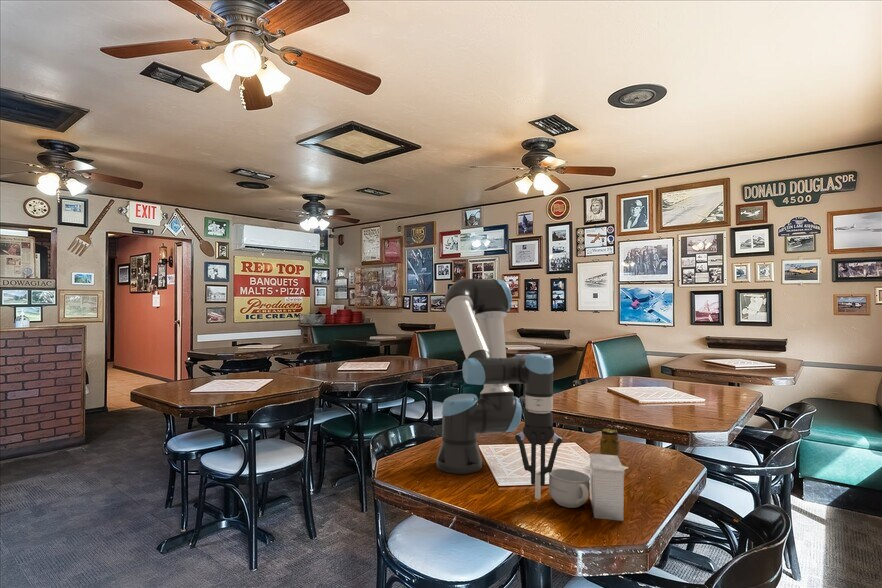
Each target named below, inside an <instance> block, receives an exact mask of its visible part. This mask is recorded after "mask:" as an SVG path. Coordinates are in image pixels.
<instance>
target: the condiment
mask: <svg viewBox="0 0 882 588" xmlns="http://www.w3.org/2000/svg"><path fill="white" fill-rule="evenodd" d="M599 442H600V444H599V446H600V447H599V449H600V451H599V454H603V455H615V456H618V458H619V459H620V439H619V432H618V430H616V429H612V428H611V429H610V428H603V429H602V430H601V437H600V439H599ZM622 467H623V469H624V471H625V470H627V469H629V468H630V467H629V466H625V465H622Z"/></svg>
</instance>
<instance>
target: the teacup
mask: <svg viewBox="0 0 882 588" xmlns="http://www.w3.org/2000/svg"><path fill="white" fill-rule="evenodd" d="M548 475H549V477H548V492H549V496H550V497H551V498H552V499H553V500H554V502H555V503H556V504H558V505H559V506H561V507H564V508H575V509H576V508H579V507H581V506H582V505H584V504H585V503H586V502H587V500H588V498H589V497H590V475H588V474H587V473H584V472H583V471H579V470H577V469H570V468H552V472H551V473H548Z"/></svg>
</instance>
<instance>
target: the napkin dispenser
mask: <svg viewBox="0 0 882 588" xmlns="http://www.w3.org/2000/svg"><path fill="white" fill-rule="evenodd" d="M589 459H590V461H589V462H590V463H589V477H590V480H589V499H590V500H589V501H590V505H591V509H592V513H593V517H594V519H599V520H600V519H601V520H609V521H610V520H611V521H619V522H624V507H625V505H624V503H625V502H624V499H625V498H624V495H625V494H624V492H625V491H624V489H625V486H624V485H625V484H624V482H625V479H624V477H625V473H626V472H625V470H624V469H623V467H622V466H623V464H622V462H621V460H620V457H619V458H618V456H615V455H603V454H600V453H590V452H589Z"/></svg>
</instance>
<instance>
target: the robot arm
mask: <svg viewBox="0 0 882 588" xmlns="http://www.w3.org/2000/svg"><path fill="white" fill-rule="evenodd" d="M512 302H513V295H512V291H511V288H510V286H509V284H508V283H507V282H506V281H505V280H503V279H495V278H490V279H488V278H461V279H459V280H457V281H455V282H454V283H453V284H452V285H451V286H450V287H449V288H448V289H447V291H446V294H445V297H444V308H445V311H446V313H447V315H448V316H449V317H450V318H452V321H453V324H454V328H455V331H456V333H457V337H458V339H459V342H460V346H461V348H462V351H463V354H464V357H465V359H464V361H463V362H462V367H461V368H462V378H463V380H464V382H465V384H468V385H478V386H482V385H483V388H482V390H481V391H480V393H479V398H478V396H477V394H474V393H457V394H453V395H451V396H447V398H445V399H444V400H443V403H442V410H441V415H442V416H441V417H442V421H441V423H442V425H441V427H442V428H441V429H442V431H441V438H442V439H441V440H442V441H441V446H440V448H439V451H438V453H437V454H438V455H437V457H436V468H437V469H439V470H440V471H442V472H444V473H448V474H449V473H450V474H455V475H467V474H472V473H476V472H478V471H480V470H481V469H482V468H483V466H482V465H483V460H482V456H481V453H480V449H479V446H478V442H477V441H478V440H477V439H478V435H481V434H497V433H498V434H505V433H510V432H512V433H513V432H514V431H516V430H517V429H518V428H519V426H520V424H521V420H522V412H523V411H522V410H523V409H522V403H521V401H520V399H519V397H517V396H514V394H515V393H514V391H513V389H512V388H511V387H509V386H510V384H523V385H524V387H525V388H524V389H525V391H524V408H525V410H524V426H523V428H522V431H520V432H517V433H515V436H514V438H515V440H516V442H517V443H518V446H519V452H520V455H521V459H522V465H523V468H524V471H528V472H529V473H530V484H531V485H532V486H534V499H537V500H541V488H542V487H544V486H545V485H546V475H547V474H549V473H551V472H552V470H553V469H554V468H553V467H554V464H555V459H556V457H557V456H556V455H557V452H558V448H559V446H560V445H561V444H562V442H563V438H562V436H559V435H557V434H556V433H555V430H554V428H553V422H554V418H553V415H554V414H553V412H552V411H553V408H554V395H553V394H554V393H553V391H554V372H555V371H554V369H555V368H554V360H553V359H554V358H553V357H552V355H550V354H547V353H546V354H545V353H528V354H527V355H526V356H523V355H521V356H518V355H516V356H513V357H507V352H506V350H507V349H506V348H507V347H506V338H505V337H506V336H505V326H504V323H505V322H504V319H505V318H506V317H507V316H508V312H509V311H510V310H511V309H512V305H513V303H512ZM478 321H479V323H478ZM525 438H526V439H527V441H528V442H529V443H530V449H531V450H530V463H529V459H528V458H529V457H528V455H527V451H526V446H525V442H524V440H525ZM551 439H552V442H553V445H552V449H551V453H550V454H549V455H550V456H549V458H548V459H549V460H548V462H547V466H546V445H548V443H549V442H550V441H551ZM538 445H539V446H540V471H538V470H537V465H536V464H537V456H536V455H537V446H538ZM541 486H542V487H541Z"/></svg>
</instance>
